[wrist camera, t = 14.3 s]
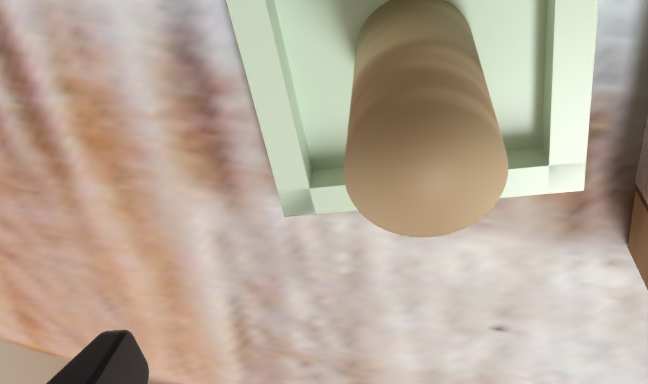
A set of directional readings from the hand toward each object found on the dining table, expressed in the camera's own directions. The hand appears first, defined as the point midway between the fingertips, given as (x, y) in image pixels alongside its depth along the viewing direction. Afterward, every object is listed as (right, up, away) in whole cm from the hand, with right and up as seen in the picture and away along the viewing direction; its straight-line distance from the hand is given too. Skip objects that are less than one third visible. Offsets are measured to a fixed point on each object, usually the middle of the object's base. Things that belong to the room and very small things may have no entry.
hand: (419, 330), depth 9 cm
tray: (+1, +6, +8) cm, 10 cm away
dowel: (+1, +6, +8) cm, 10 cm away
